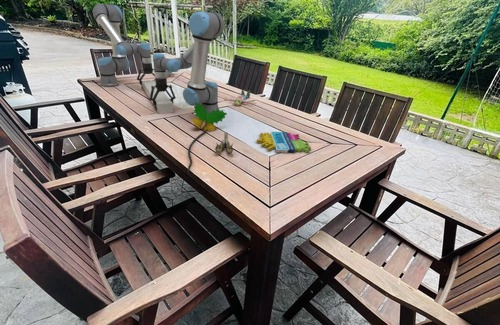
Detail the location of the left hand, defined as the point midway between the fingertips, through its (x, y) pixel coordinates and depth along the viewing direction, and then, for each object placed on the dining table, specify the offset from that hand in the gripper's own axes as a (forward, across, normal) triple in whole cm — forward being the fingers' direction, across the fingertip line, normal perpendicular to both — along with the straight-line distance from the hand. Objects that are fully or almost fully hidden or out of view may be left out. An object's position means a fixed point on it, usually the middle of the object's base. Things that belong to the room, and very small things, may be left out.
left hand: (150, 87), depth 233 cm
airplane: (+2, -23, -52) cm, 57 cm away
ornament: (+3, -19, +102) cm, 104 cm away
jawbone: (+3, -15, +135) cm, 136 cm away
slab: (+2, 0, +29) cm, 29 cm away
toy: (+3, -64, +54) cm, 84 cm away
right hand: (+2, 0, +57) cm, 57 cm away
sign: (+3, -51, +136) cm, 146 cm away
